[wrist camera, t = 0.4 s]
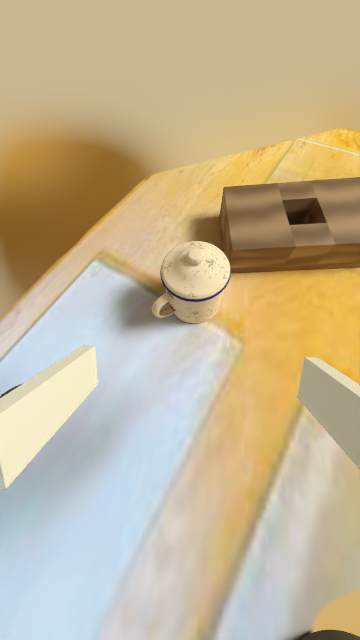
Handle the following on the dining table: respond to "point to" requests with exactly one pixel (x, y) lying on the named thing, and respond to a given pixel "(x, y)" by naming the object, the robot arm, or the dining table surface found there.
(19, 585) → the dining table surface
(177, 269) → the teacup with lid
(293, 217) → the hole board
